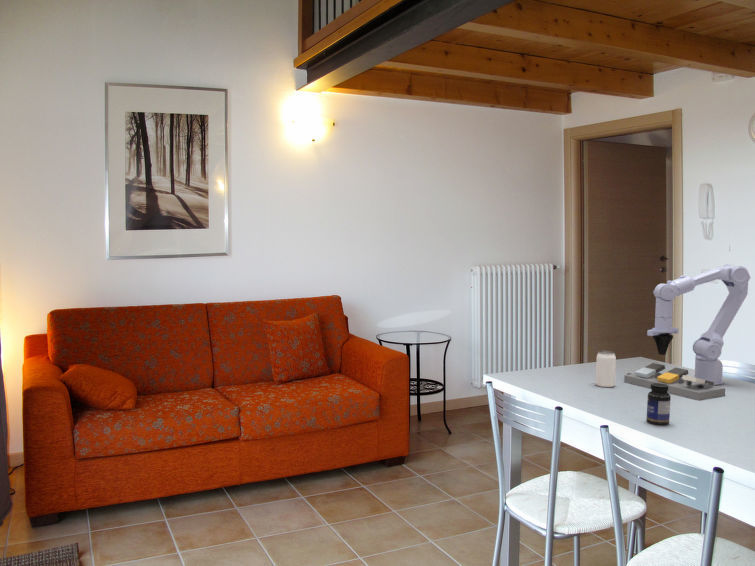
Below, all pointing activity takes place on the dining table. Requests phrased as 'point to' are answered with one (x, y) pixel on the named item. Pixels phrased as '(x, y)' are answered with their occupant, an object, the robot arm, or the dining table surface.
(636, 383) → the rocker switch panel
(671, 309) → the robot arm
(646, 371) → the rocker
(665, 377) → the block
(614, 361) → the can
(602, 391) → the dining table surface
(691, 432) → the dining table surface
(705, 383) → the rocker
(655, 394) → the pill bottle
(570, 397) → the dining table surface
